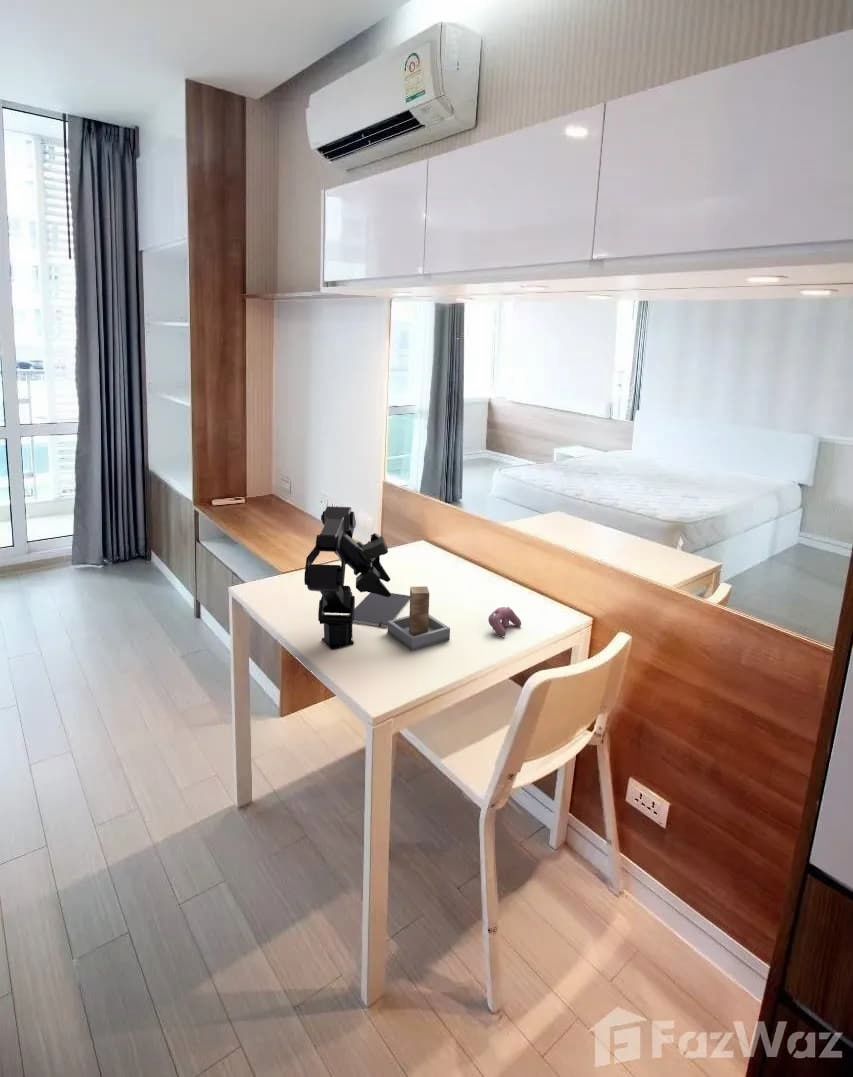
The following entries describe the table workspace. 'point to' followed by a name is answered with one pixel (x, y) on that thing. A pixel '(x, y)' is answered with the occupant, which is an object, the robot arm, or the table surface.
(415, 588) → the walnut handle block
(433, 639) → the tray
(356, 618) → the notebook
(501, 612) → the video game controller
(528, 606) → the table surface
